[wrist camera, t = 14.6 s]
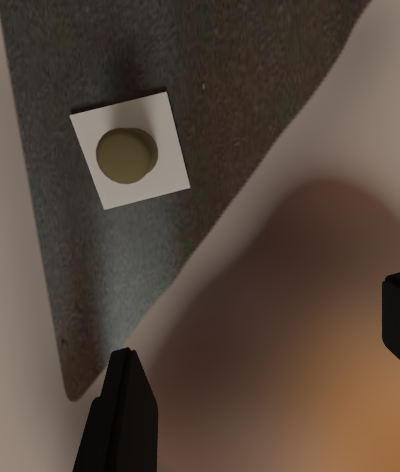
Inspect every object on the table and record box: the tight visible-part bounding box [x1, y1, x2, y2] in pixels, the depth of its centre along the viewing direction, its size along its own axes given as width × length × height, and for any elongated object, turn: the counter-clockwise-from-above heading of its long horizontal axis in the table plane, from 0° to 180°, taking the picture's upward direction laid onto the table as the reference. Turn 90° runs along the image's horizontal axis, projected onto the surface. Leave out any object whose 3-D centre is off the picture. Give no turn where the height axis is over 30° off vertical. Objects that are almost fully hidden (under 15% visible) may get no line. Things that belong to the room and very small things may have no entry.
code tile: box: [70, 92, 190, 210], centre depth 35 cm, size 12×12×1 cm
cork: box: [96, 128, 158, 184], centre depth 30 cm, size 6×6×11 cm
